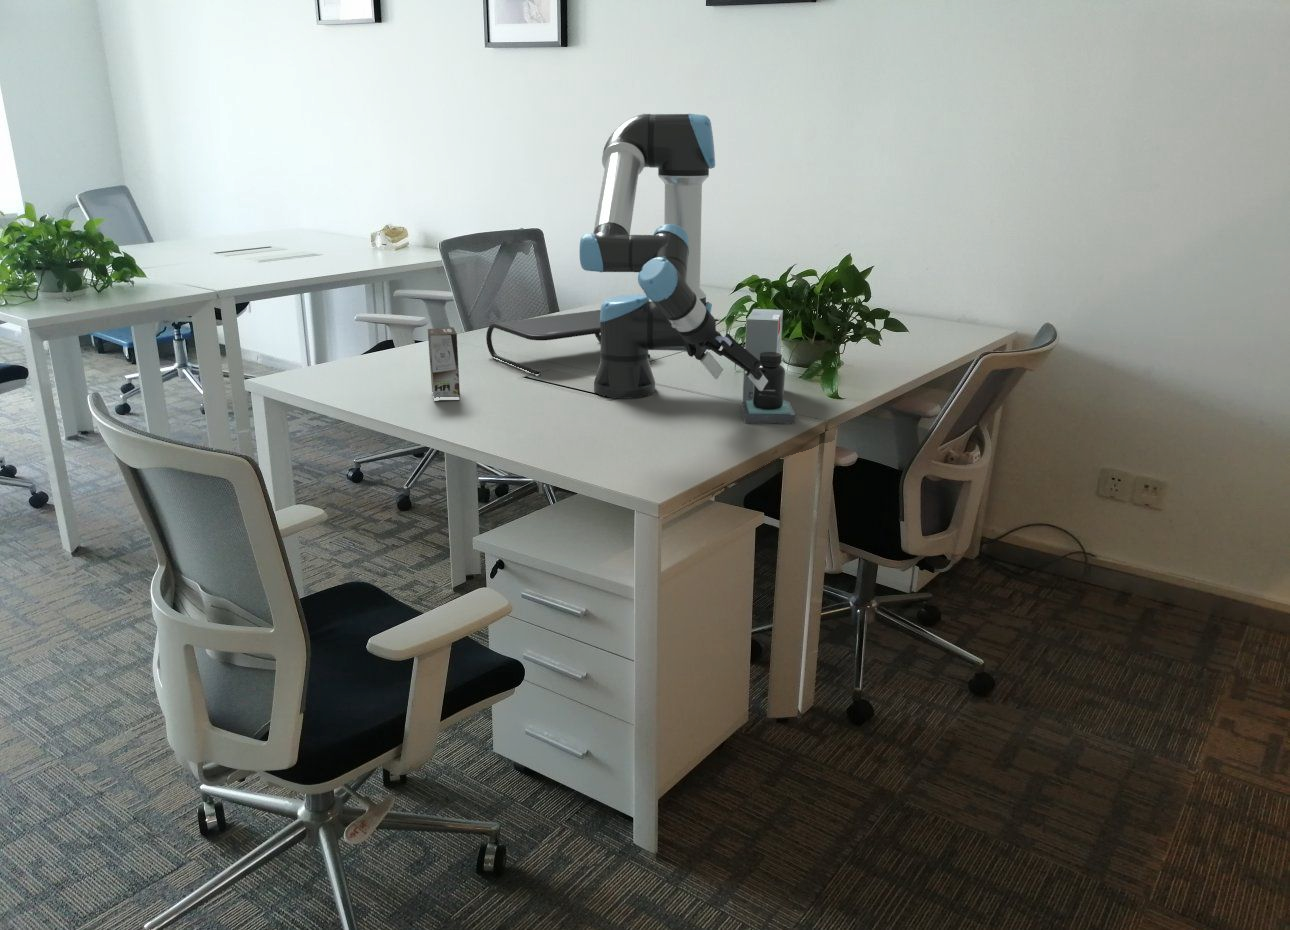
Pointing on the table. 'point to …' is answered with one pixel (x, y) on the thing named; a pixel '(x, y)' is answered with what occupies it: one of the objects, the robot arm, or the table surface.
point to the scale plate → (755, 410)
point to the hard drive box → (761, 339)
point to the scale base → (767, 416)
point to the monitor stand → (548, 329)
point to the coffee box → (444, 362)
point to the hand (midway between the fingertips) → (741, 379)
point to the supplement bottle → (770, 382)
